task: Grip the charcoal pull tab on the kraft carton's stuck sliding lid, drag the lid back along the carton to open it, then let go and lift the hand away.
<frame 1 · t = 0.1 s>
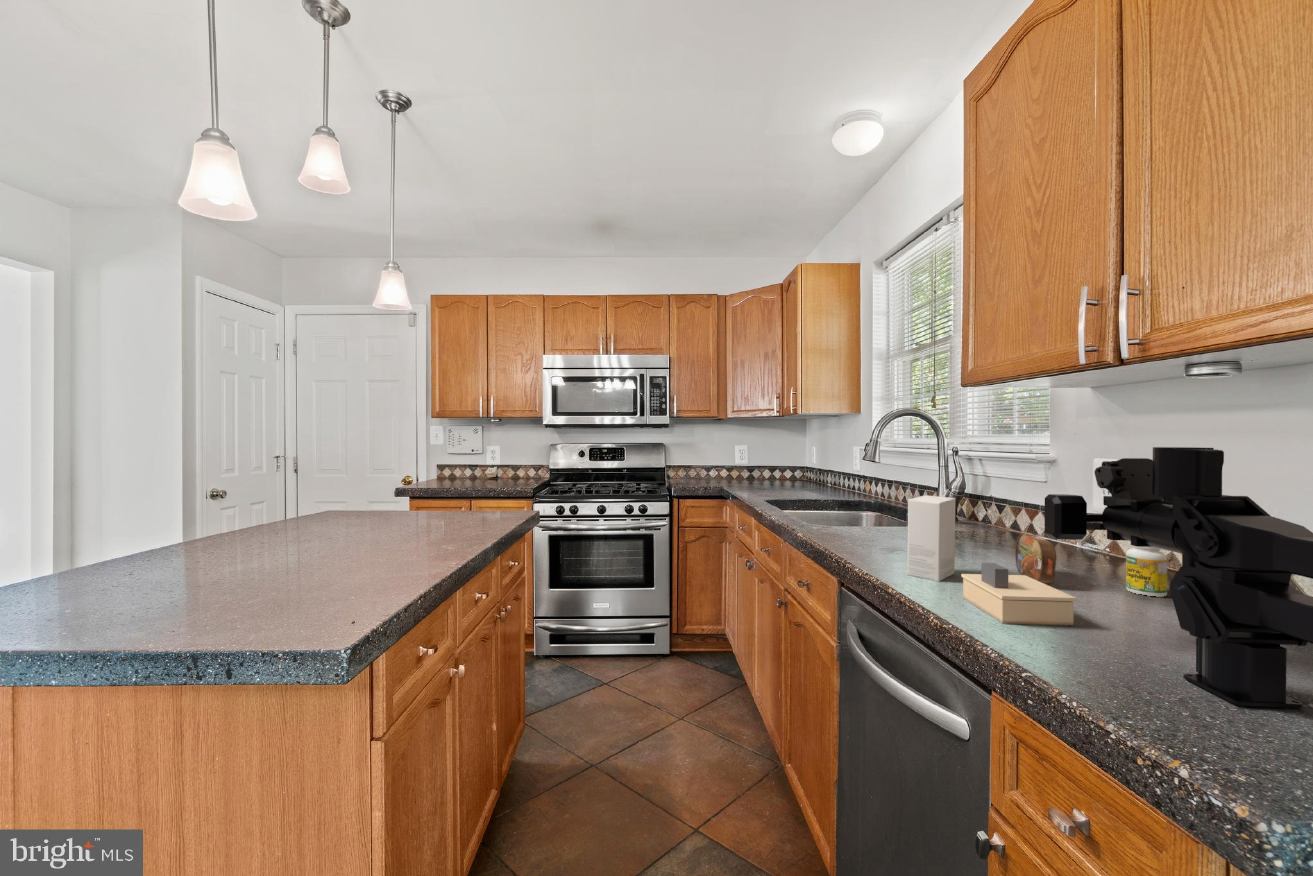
hand: (1077, 509, 83), 17 cm above the countertop, tool horizontal, fingers open, 9 cm apart
carton: (1014, 611, 85), on the countertop
skincare box: (931, 576, 106), on the countertop
carton lid: (1014, 577, 85), point 5 cm above the countertop, slide at 0.0 cm
supplement bottle: (1146, 594, 94), on the countertop
tin: (1034, 580, 103), on the countertop
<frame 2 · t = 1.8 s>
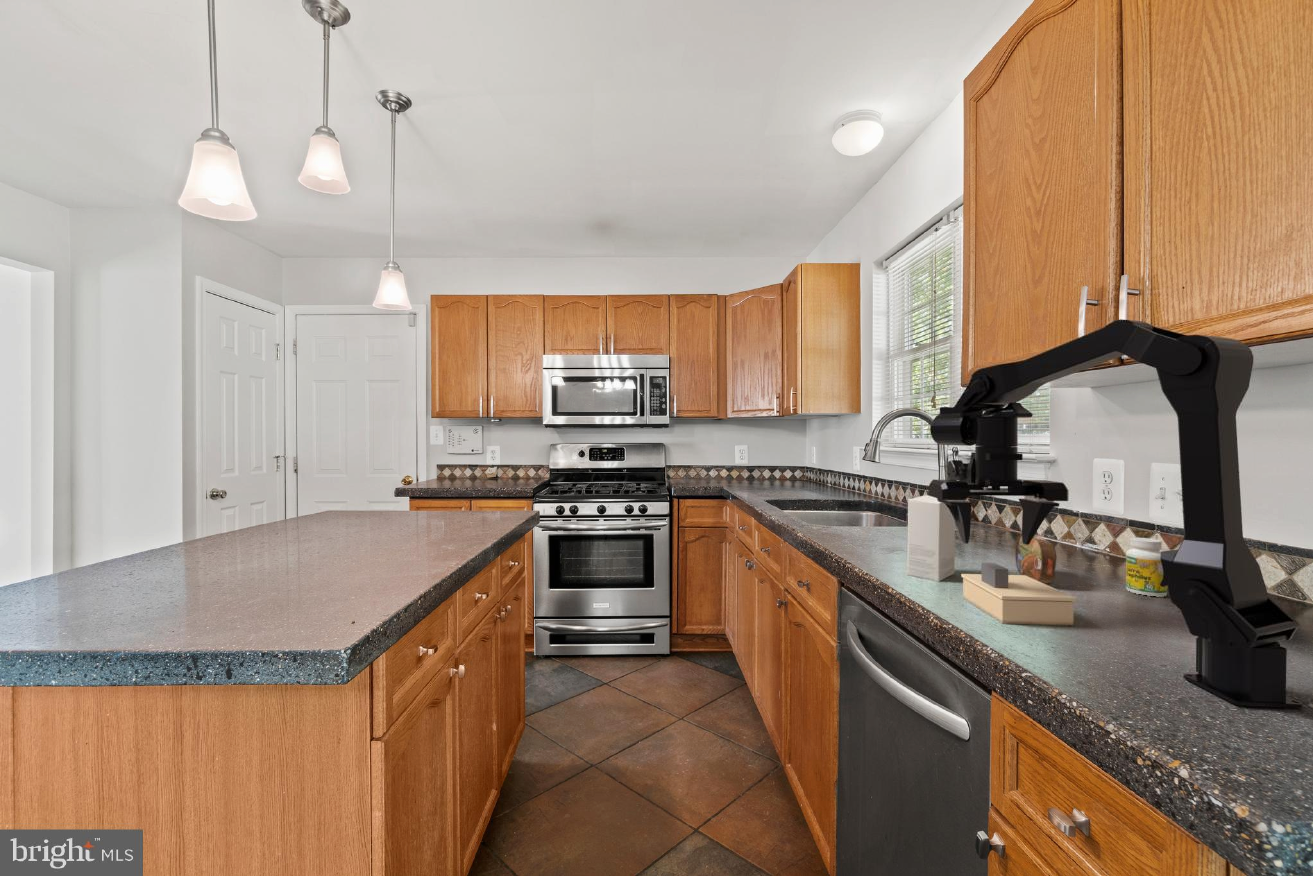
hand: (995, 543, 85), 11 cm above the countertop, tool pointing down, fingers open, 9 cm apart
nothing on the countertop moved.
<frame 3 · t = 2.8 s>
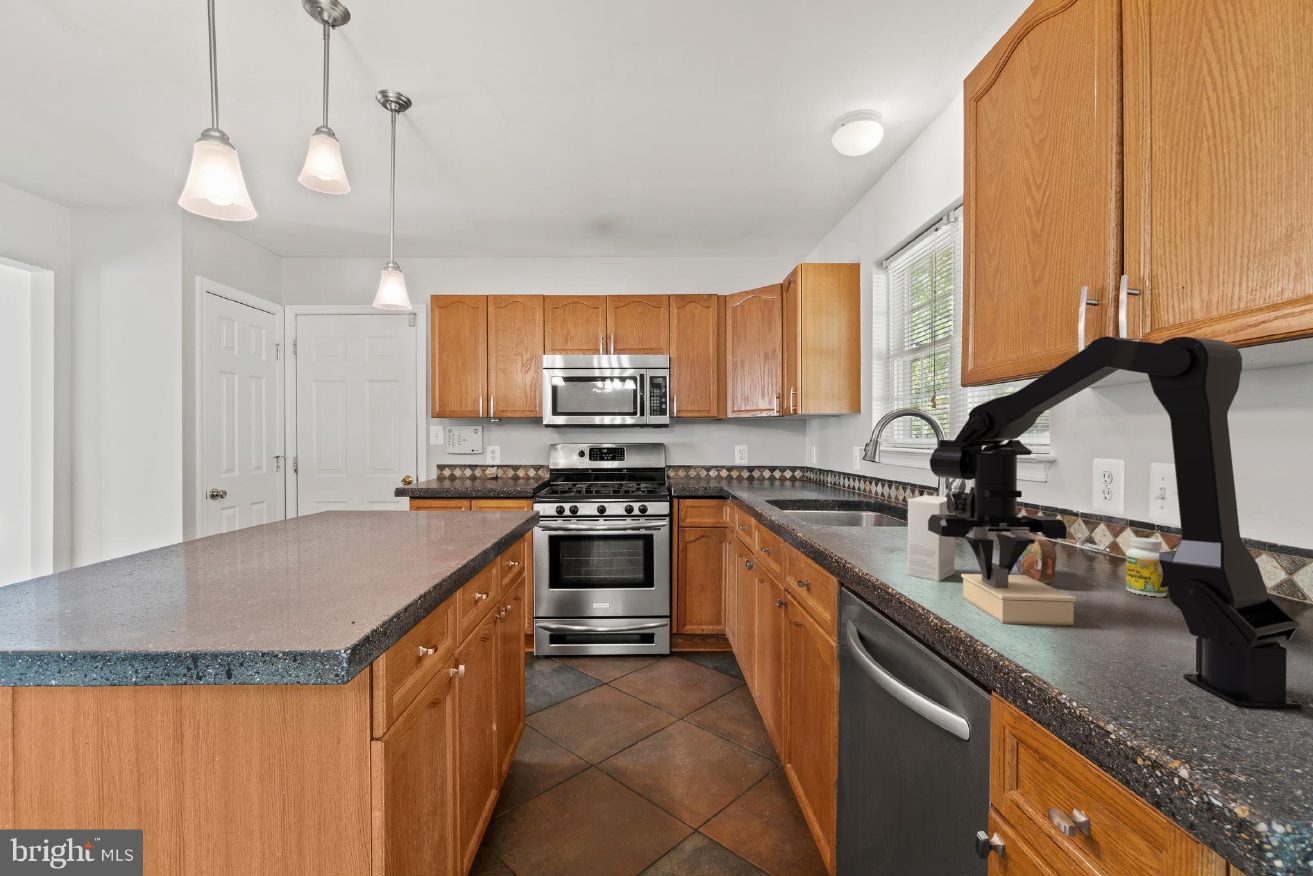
hand: (994, 579, 85), 5 cm above the countertop, tool pointing down, fingers closed on carton lid, 2 cm apart
carton lid: (1014, 577, 85), point 5 cm above the countertop, slide at 0.0 cm, touching gripper
everything else where it was.
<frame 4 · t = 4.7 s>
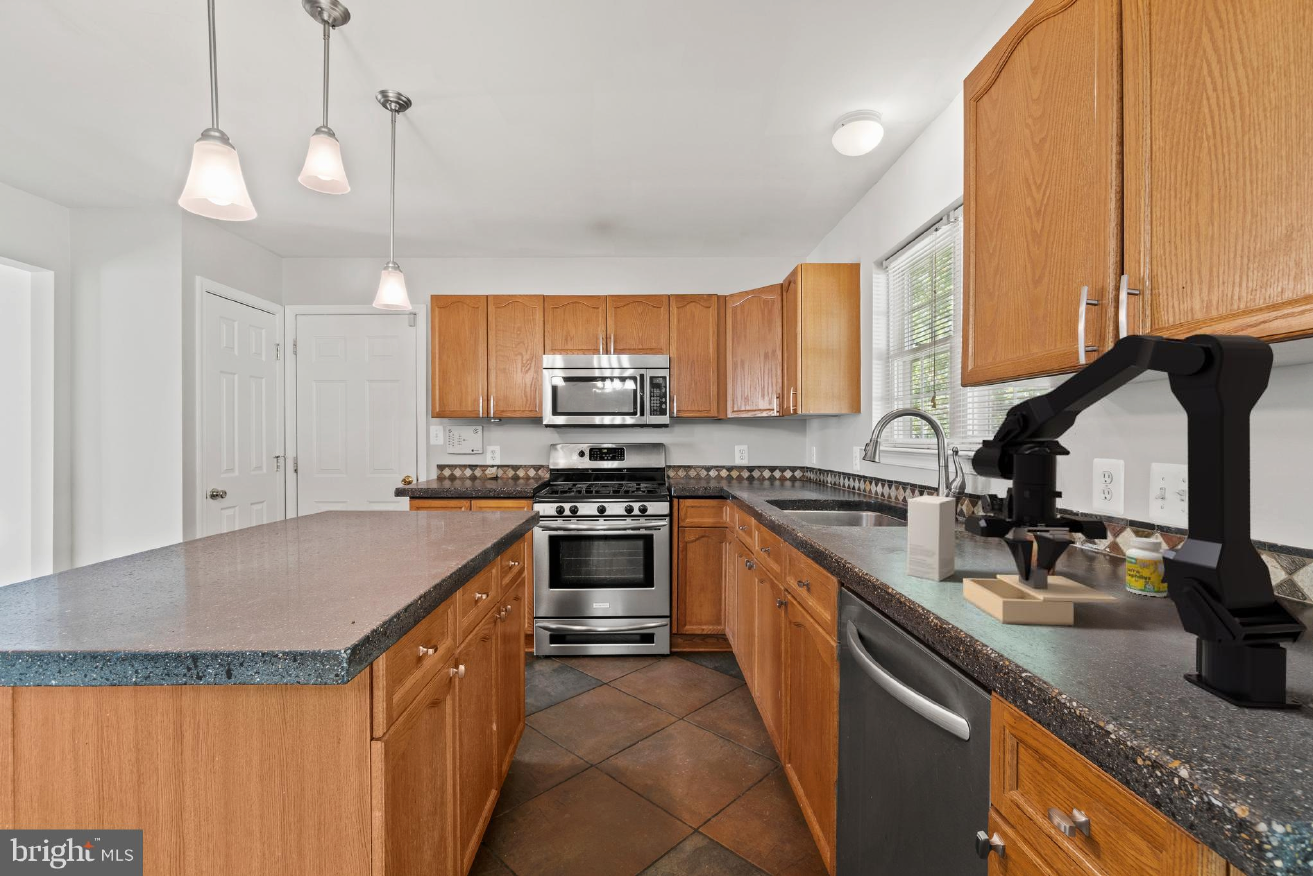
hand: (1032, 580, 84), 5 cm above the countertop, tool pointing down, fingers closed on carton lid, 2 cm apart
carton lid: (1052, 578, 84), point 5 cm above the countertop, slide at 5.8 cm, touching gripper
everything else where it was.
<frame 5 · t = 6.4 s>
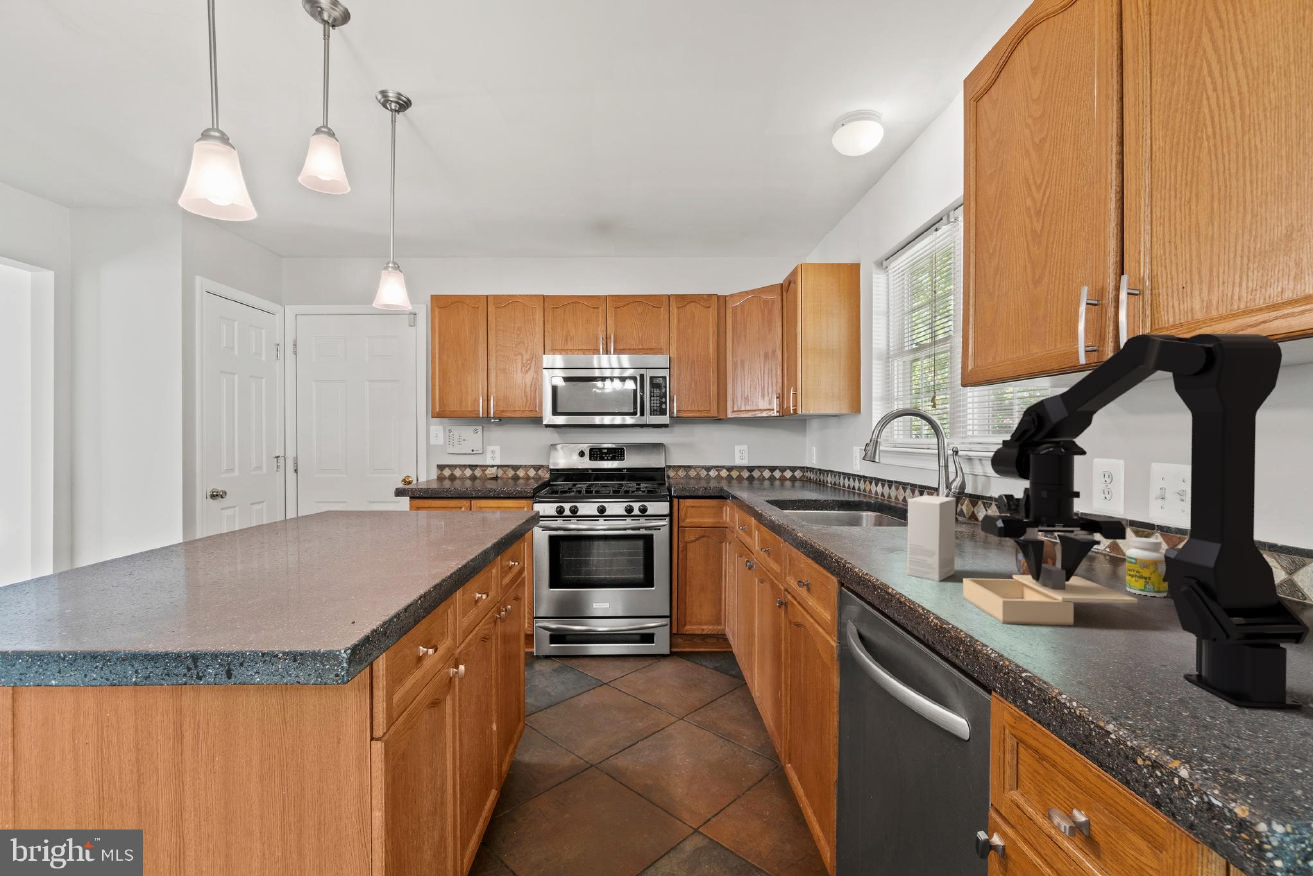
hand: (1050, 580, 84), 5 cm above the countertop, tool pointing down, fingers open, 4 cm apart
carton lid: (1070, 578, 84), point 5 cm above the countertop, slide at 8.4 cm
everything else where it was.
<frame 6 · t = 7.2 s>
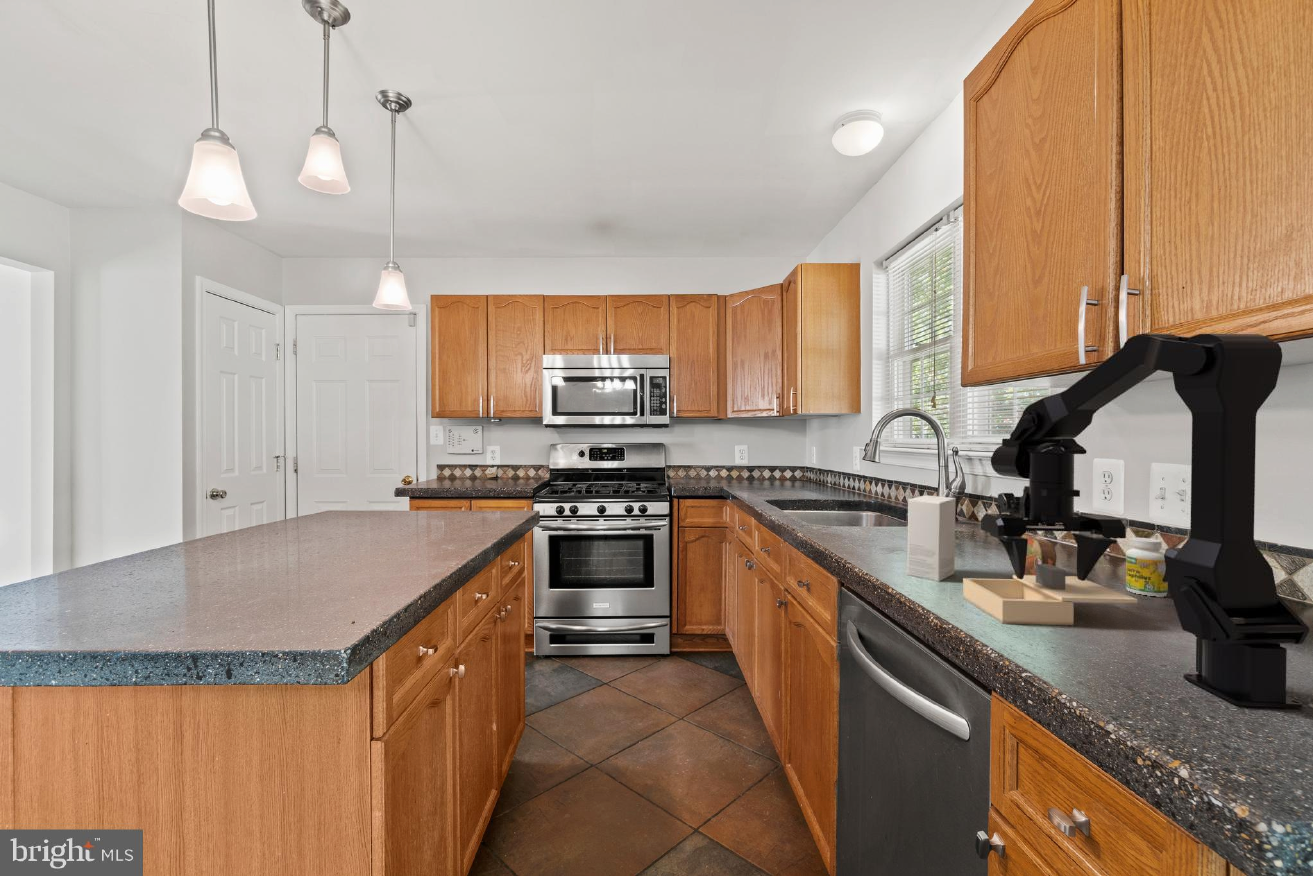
hand: (1050, 579, 84), 5 cm above the countertop, tool pointing down, fingers open, 9 cm apart
nothing on the countertop moved.
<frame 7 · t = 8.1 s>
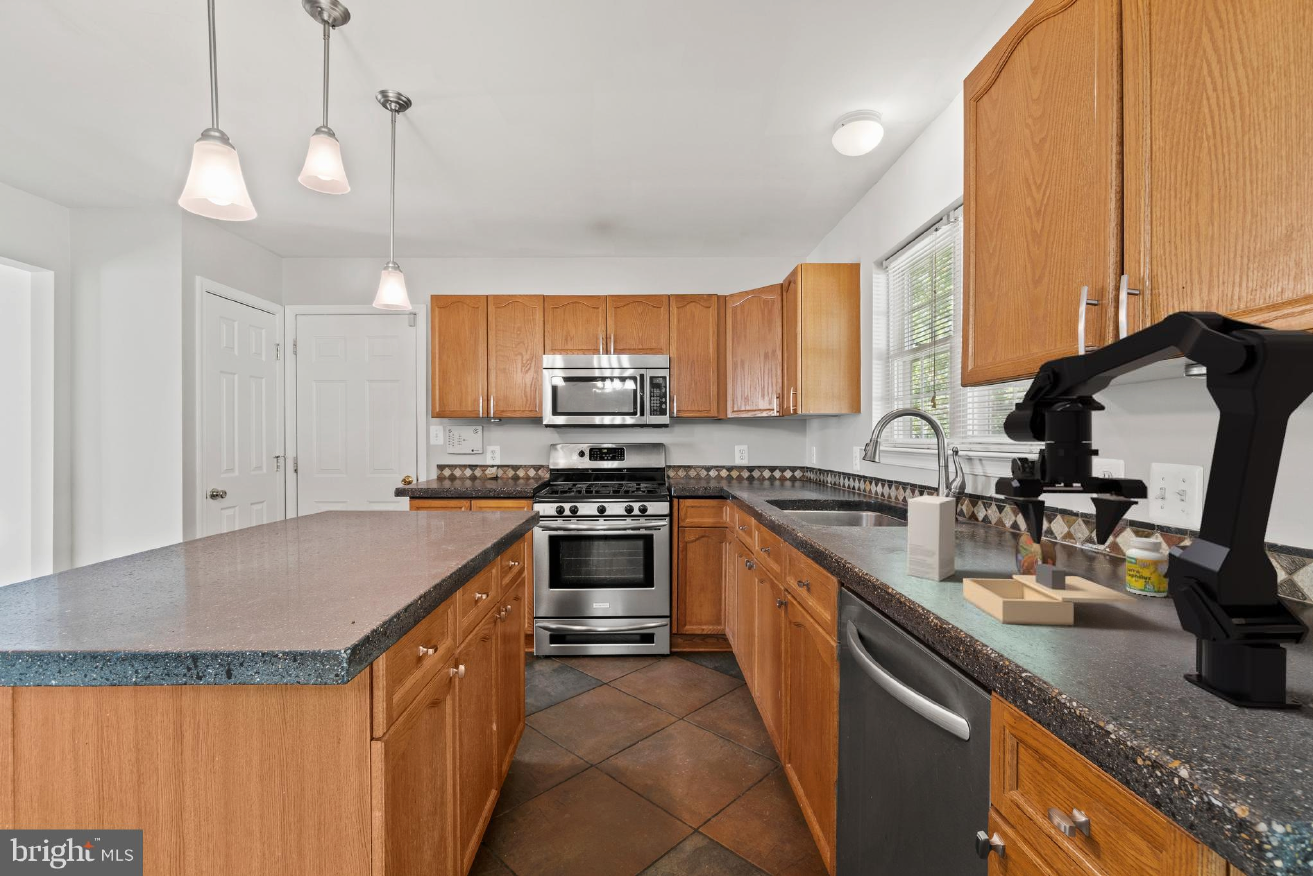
hand: (1068, 544, 81), 12 cm above the countertop, tool pointing down, fingers open, 9 cm apart
nothing on the countertop moved.
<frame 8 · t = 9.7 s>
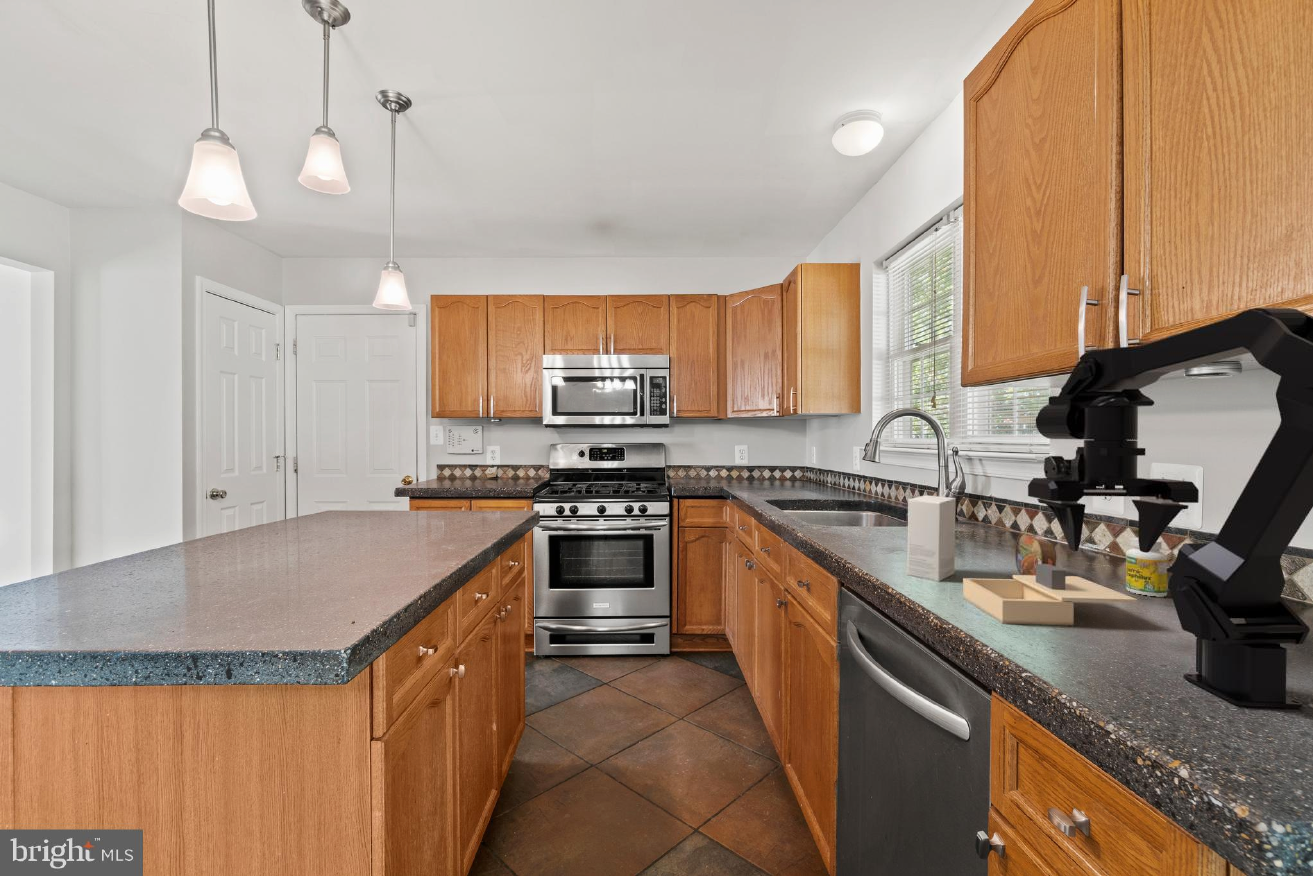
hand: (1108, 551, 74), 12 cm above the countertop, tool pointing down, fingers open, 9 cm apart
nothing on the countertop moved.
at the end: carton lid slide at 8.4 cm; the gripper is holding nothing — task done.
